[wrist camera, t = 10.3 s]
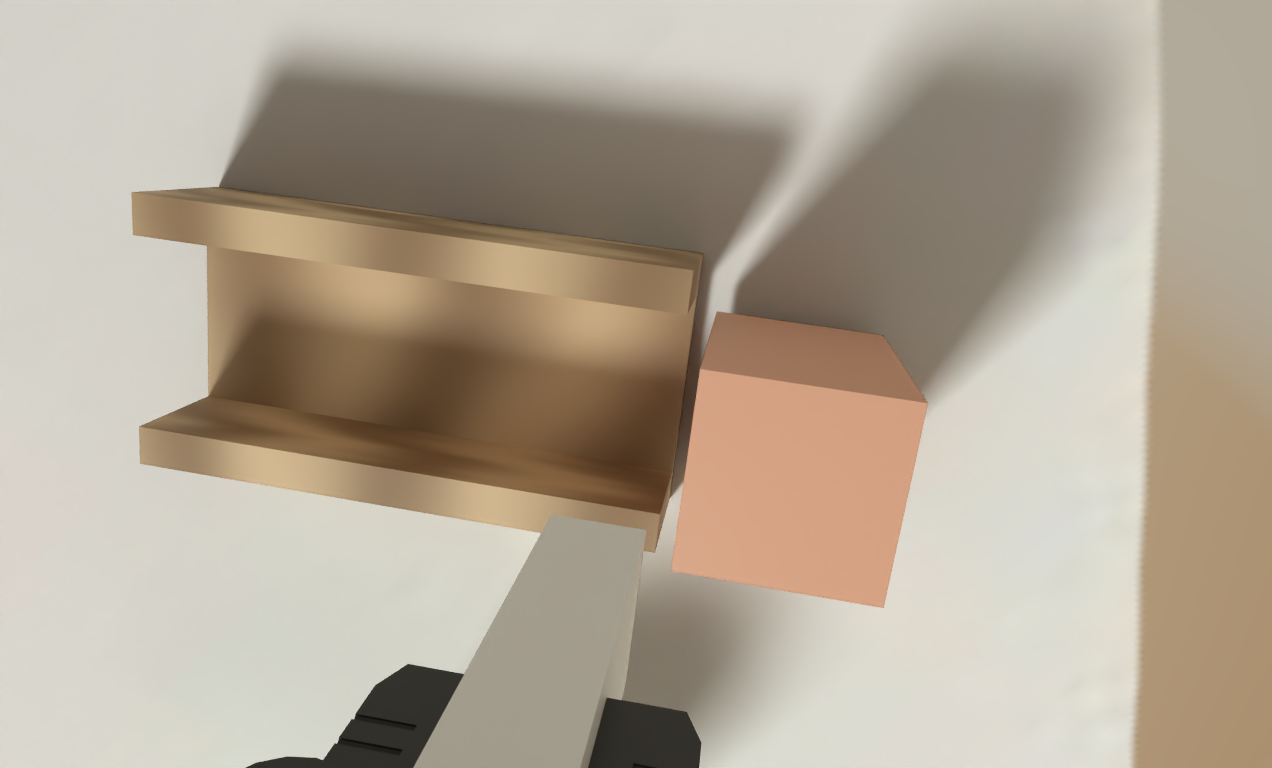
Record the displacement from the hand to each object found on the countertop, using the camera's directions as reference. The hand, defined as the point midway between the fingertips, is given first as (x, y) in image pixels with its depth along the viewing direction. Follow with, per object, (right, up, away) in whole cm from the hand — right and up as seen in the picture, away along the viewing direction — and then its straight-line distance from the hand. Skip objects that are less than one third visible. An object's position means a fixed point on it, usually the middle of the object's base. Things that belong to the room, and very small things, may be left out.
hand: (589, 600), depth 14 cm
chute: (-6, +5, +15) cm, 17 cm away
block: (+5, +3, +13) cm, 15 cm away
